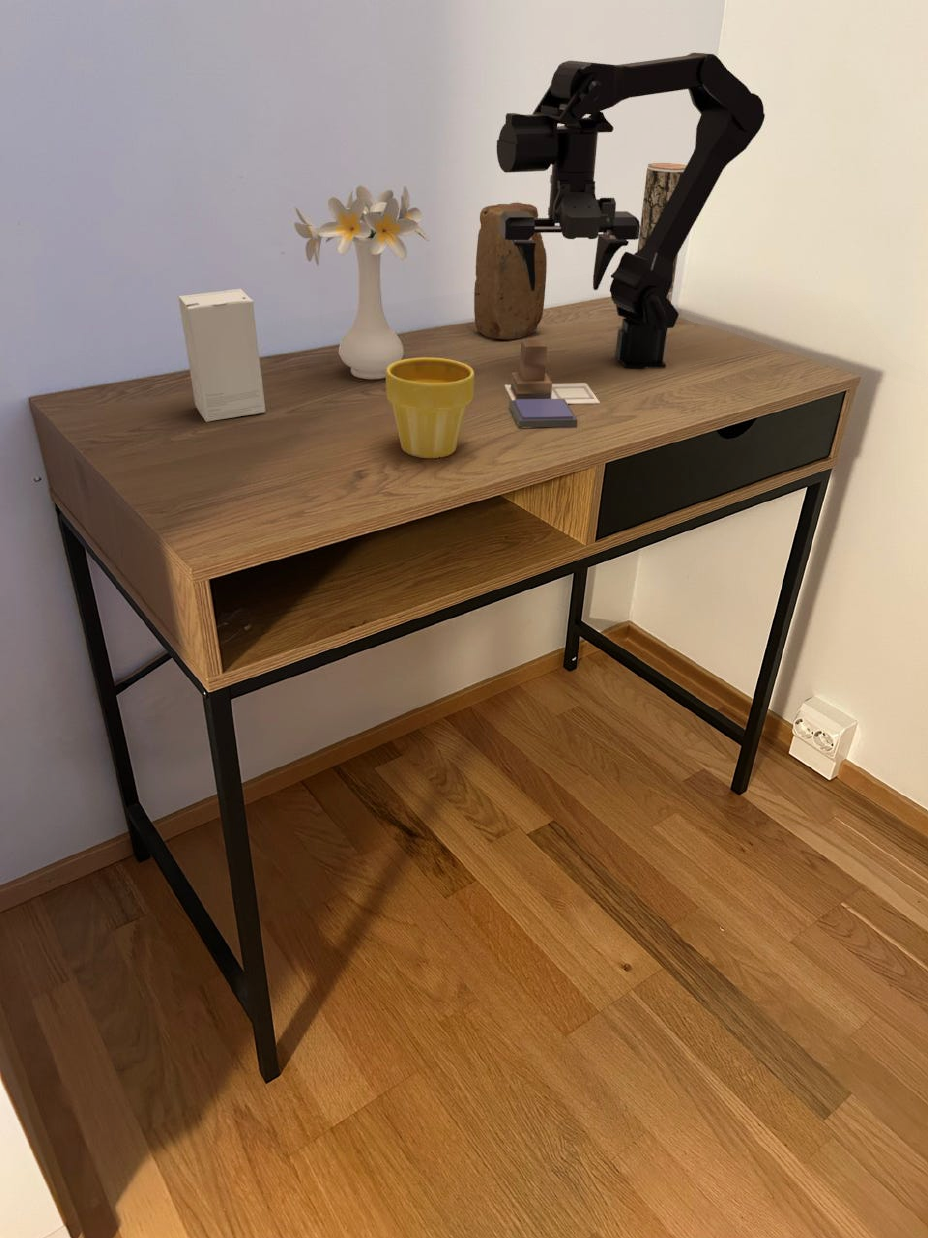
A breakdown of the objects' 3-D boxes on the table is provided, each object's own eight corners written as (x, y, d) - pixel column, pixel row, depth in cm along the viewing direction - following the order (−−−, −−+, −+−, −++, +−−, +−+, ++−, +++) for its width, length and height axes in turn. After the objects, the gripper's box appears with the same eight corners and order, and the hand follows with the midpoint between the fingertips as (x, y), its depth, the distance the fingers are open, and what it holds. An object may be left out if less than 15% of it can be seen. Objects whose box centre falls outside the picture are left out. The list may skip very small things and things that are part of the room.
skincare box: (254, 400, 128) (243, 286, 120) (267, 414, 124) (256, 298, 116) (192, 408, 125) (176, 292, 117) (202, 423, 120) (187, 304, 112)
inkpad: (564, 406, 129) (564, 397, 128) (576, 426, 123) (577, 417, 122) (509, 407, 128) (509, 398, 128) (519, 428, 122) (519, 418, 121)
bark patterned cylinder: (628, 326, 164) (647, 167, 150) (629, 315, 169) (647, 161, 156) (668, 328, 163) (691, 169, 149) (667, 318, 168) (689, 163, 155)
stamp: (544, 386, 135) (547, 337, 131) (550, 398, 131) (555, 348, 127) (510, 387, 134) (513, 338, 130) (516, 399, 130) (519, 348, 126)
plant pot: (454, 428, 121) (456, 352, 116) (484, 459, 113) (487, 379, 108) (376, 437, 118) (375, 359, 113) (401, 469, 110) (400, 387, 105)
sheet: (586, 384, 137) (586, 382, 137) (599, 403, 130) (600, 401, 130) (504, 385, 136) (504, 383, 135) (514, 405, 129) (514, 403, 129)
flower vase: (291, 373, 138) (278, 186, 124) (397, 352, 147) (395, 177, 134) (338, 399, 129) (328, 201, 116) (446, 375, 139) (449, 190, 125)
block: (492, 343, 153) (497, 210, 142) (468, 331, 158) (472, 202, 147) (547, 335, 158) (557, 206, 147) (523, 324, 163) (530, 198, 152)
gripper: (515, 178, 119) (509, 305, 127) (658, 179, 121) (643, 303, 130) (500, 166, 128) (495, 285, 137) (634, 166, 130) (621, 283, 139)
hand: (563, 289), depth 135 cm, fingers open, 9 cm apart
